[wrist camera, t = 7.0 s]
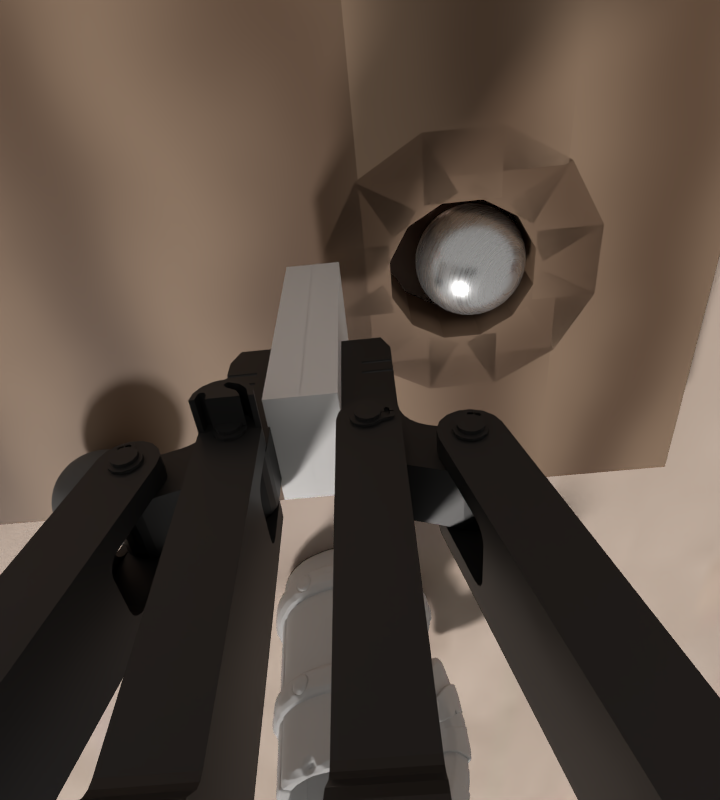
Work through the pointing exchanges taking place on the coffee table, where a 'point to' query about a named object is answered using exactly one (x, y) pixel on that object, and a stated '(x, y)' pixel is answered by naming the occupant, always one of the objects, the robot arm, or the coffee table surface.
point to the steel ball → (470, 259)
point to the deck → (350, 210)
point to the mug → (311, 690)
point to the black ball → (73, 476)
